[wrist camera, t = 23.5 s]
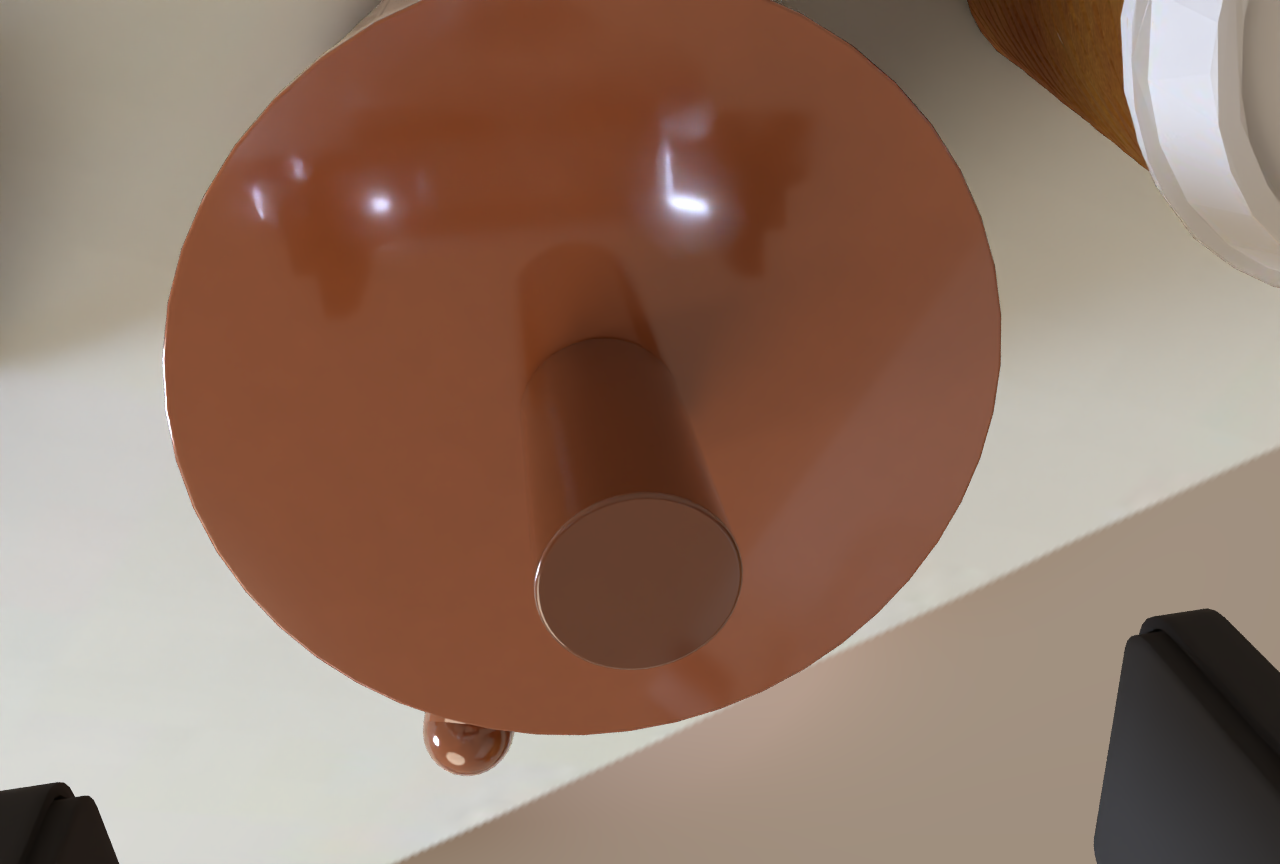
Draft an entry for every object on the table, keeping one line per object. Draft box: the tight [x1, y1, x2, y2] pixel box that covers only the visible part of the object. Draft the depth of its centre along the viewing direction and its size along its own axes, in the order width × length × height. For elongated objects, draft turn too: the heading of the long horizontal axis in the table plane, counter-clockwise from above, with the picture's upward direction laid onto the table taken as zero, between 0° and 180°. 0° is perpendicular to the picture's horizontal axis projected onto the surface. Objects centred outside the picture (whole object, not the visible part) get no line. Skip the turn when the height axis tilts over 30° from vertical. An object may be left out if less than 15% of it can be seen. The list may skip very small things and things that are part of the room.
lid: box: [162, 0, 1001, 735], centre depth 17 cm, size 13×13×6 cm
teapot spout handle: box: [423, 712, 514, 776], centre depth 23 cm, size 21×2×6 cm, turn 164°
